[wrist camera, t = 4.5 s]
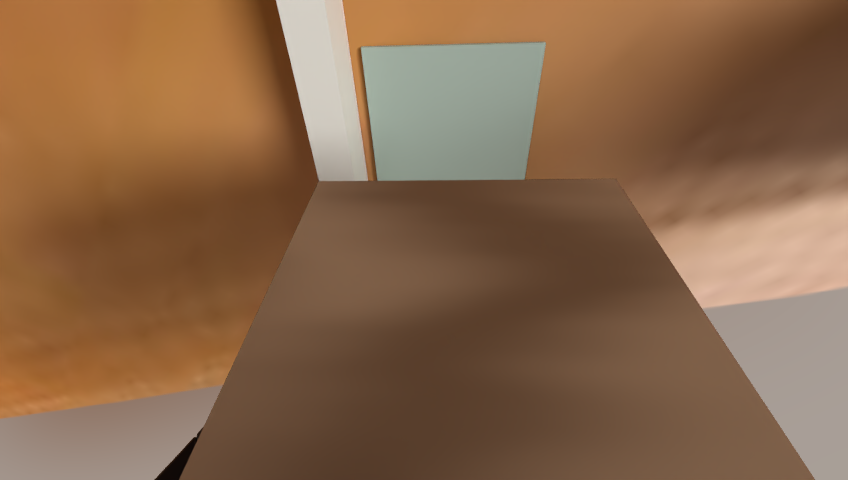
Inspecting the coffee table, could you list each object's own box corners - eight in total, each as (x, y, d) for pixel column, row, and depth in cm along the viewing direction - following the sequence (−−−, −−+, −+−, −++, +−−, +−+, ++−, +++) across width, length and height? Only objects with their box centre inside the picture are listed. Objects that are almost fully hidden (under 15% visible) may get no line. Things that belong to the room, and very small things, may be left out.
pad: (544, 41, 15) (545, 42, 14) (520, 196, 19) (521, 198, 19) (361, 46, 15) (360, 47, 15) (380, 197, 19) (379, 199, 19)
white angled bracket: (715, -105, 12) (767, -109, 10) (597, 242, 21) (613, 275, 19) (283, -87, 12) (255, -88, 11) (350, 243, 21) (341, 274, 20)
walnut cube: (616, 178, 8) (874, 570, 3) (558, 353, 12) (634, 642, 7) (318, 180, 8) (150, 542, 3) (359, 350, 12) (305, 626, 7)
